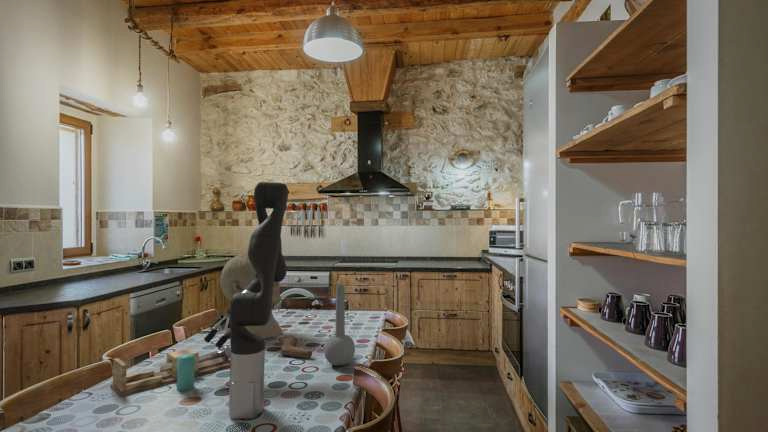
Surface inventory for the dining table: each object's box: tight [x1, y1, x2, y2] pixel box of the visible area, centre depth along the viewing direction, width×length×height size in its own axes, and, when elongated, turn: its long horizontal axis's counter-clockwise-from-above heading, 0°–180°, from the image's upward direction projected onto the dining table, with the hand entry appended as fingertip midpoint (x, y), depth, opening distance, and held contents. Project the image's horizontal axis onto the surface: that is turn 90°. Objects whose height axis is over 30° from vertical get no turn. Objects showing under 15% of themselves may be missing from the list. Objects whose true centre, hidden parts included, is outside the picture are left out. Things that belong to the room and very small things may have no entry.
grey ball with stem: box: [323, 284, 356, 367], centre depth 154 cm, size 12×19×30 cm, turn 12°
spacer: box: [176, 354, 195, 392], centre depth 127 cm, size 5×5×10 cm
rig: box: [109, 347, 230, 397], centre depth 137 cm, size 37×11×9 cm, turn 139°
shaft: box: [159, 345, 231, 372], centre depth 142 cm, size 24×5×5 cm, turn 139°
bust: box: [219, 251, 283, 340], centre depth 191 cm, size 25×28×40 cm
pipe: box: [280, 335, 313, 360], centre depth 162 cm, size 6×17×10 cm
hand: (211, 344), depth 133 cm, fingers open, 8 cm apart
